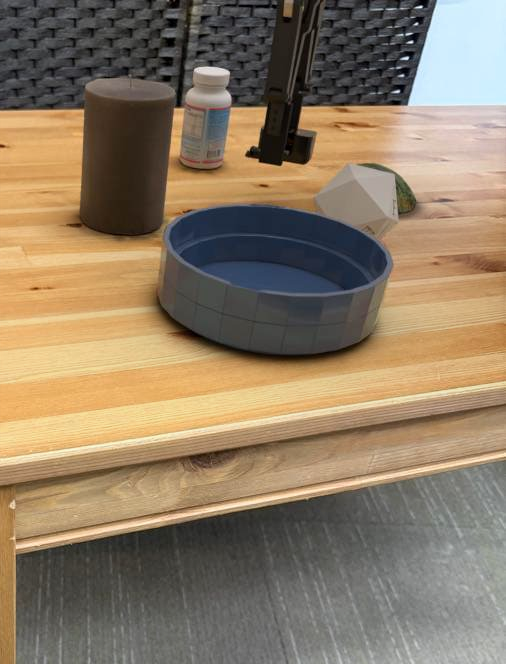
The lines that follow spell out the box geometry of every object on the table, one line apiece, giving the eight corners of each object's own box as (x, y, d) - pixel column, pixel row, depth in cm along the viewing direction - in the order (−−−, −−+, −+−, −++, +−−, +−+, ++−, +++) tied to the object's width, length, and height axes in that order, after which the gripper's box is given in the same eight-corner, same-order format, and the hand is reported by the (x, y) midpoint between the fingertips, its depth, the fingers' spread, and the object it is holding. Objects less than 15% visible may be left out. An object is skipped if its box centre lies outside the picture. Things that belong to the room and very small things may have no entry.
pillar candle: (131, 243, 89) (143, 91, 79) (62, 219, 93) (65, 72, 83) (179, 219, 95) (196, 76, 85) (112, 198, 99) (121, 58, 89)
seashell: (391, 183, 96) (327, 159, 102) (380, 218, 99) (318, 193, 105) (440, 177, 101) (377, 154, 107) (428, 211, 104) (367, 187, 110)
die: (333, 271, 88) (412, 201, 83) (284, 208, 89) (359, 135, 84) (353, 274, 95) (427, 210, 90) (308, 216, 97) (378, 149, 91)
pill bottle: (220, 157, 114) (233, 66, 106) (224, 171, 109) (238, 78, 102) (177, 154, 114) (187, 63, 106) (179, 168, 109) (189, 74, 102)
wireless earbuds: (255, 150, 100) (259, 121, 98) (312, 160, 98) (318, 131, 96) (243, 160, 97) (248, 131, 95) (302, 171, 95) (308, 141, 93)
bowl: (391, 289, 84) (409, 231, 80) (350, 383, 69) (369, 318, 65) (198, 245, 90) (206, 189, 86) (122, 323, 75) (127, 260, 71)
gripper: (303, -95, 89) (265, 135, 105) (258, -86, 77) (223, 172, 92) (371, -89, 87) (323, 144, 102) (336, -80, 75) (288, 184, 90)
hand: (276, 157), depth 97 cm, fingers closed on wireless earbuds, 4 cm apart
